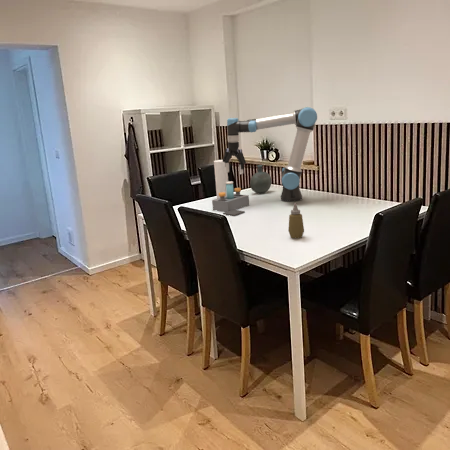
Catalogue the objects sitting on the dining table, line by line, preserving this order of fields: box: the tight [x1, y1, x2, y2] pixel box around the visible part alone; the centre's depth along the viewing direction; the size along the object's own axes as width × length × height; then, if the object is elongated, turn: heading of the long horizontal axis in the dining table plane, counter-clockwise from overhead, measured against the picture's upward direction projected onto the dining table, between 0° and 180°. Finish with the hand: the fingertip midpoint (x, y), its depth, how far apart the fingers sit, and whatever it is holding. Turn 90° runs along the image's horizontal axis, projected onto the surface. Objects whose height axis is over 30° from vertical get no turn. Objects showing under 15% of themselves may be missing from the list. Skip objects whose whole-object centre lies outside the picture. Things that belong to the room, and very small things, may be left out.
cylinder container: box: [213, 159, 229, 199], centre depth 326 cm, size 9×9×30 cm
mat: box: [222, 209, 246, 217], centre depth 287 cm, size 10×10×1 cm
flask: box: [249, 164, 273, 194], centre depth 340 cm, size 12×17×22 cm
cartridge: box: [226, 180, 235, 199], centre depth 301 cm, size 5×5×18 cm
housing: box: [211, 193, 250, 213], centre depth 303 cm, size 14×22×7 cm, turn 138°
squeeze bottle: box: [288, 202, 305, 240], centre depth 225 cm, size 8×8×18 cm
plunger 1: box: [219, 192, 226, 201], centre depth 296 cm, size 5×5×9 cm
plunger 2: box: [233, 187, 242, 196], centre depth 307 cm, size 5×5×9 cm
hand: (234, 173), depth 302 cm, fingers open, 13 cm apart
